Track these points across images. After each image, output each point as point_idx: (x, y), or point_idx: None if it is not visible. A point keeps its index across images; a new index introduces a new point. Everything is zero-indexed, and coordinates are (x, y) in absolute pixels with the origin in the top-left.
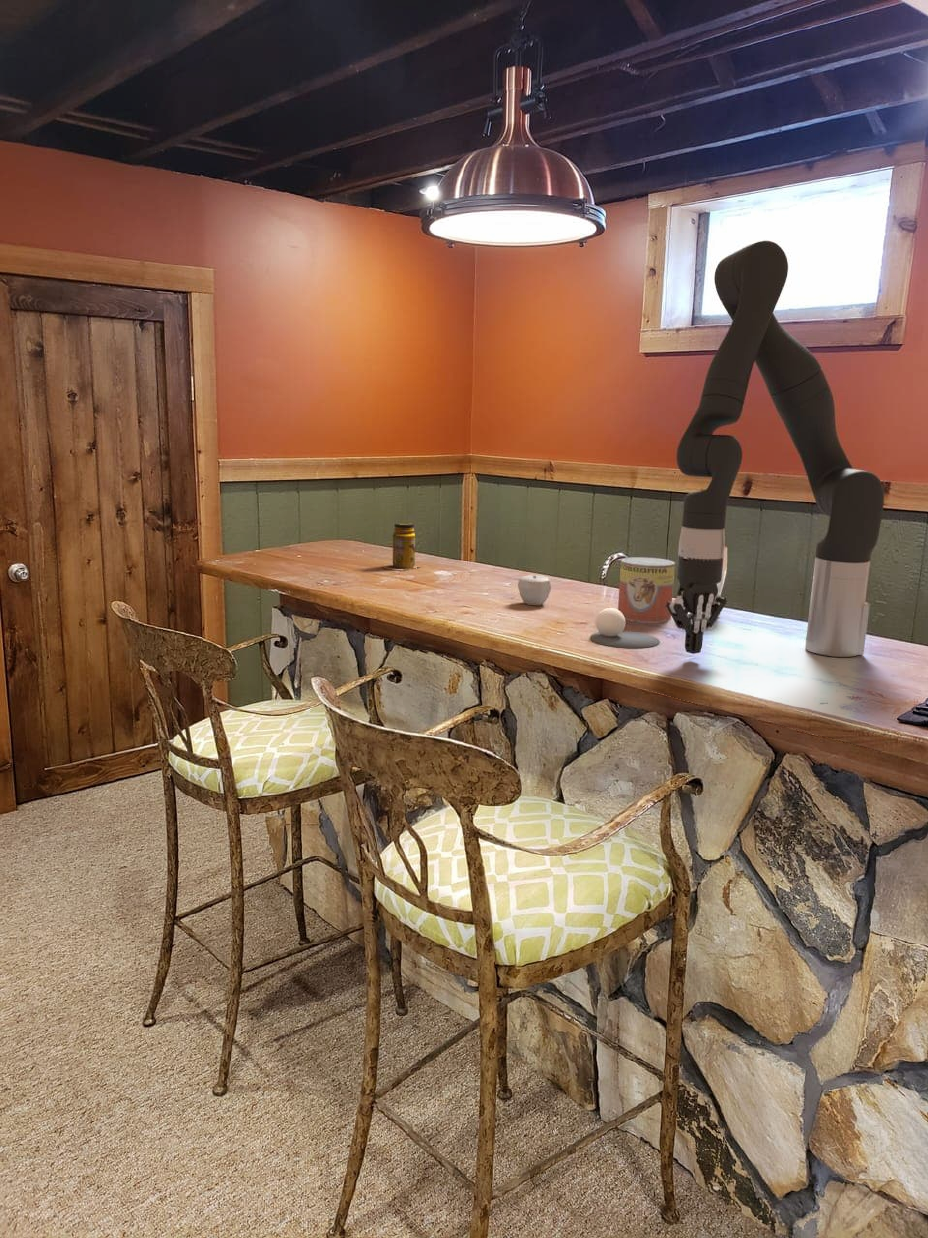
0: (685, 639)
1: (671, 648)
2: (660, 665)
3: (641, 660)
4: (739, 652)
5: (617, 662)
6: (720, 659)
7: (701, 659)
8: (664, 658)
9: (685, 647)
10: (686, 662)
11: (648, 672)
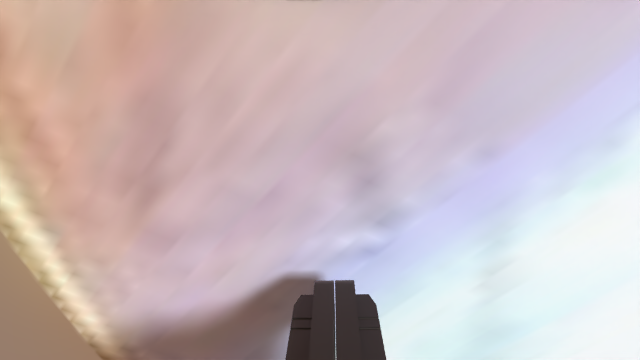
0: (289, 337)
1: (424, 72)
2: (170, 266)
3: (133, 182)
4: (632, 268)
5: (10, 162)
6: (453, 302)
7: (385, 274)
8: (251, 201)
9: (297, 304)
10: (295, 278)
11: (78, 306)
